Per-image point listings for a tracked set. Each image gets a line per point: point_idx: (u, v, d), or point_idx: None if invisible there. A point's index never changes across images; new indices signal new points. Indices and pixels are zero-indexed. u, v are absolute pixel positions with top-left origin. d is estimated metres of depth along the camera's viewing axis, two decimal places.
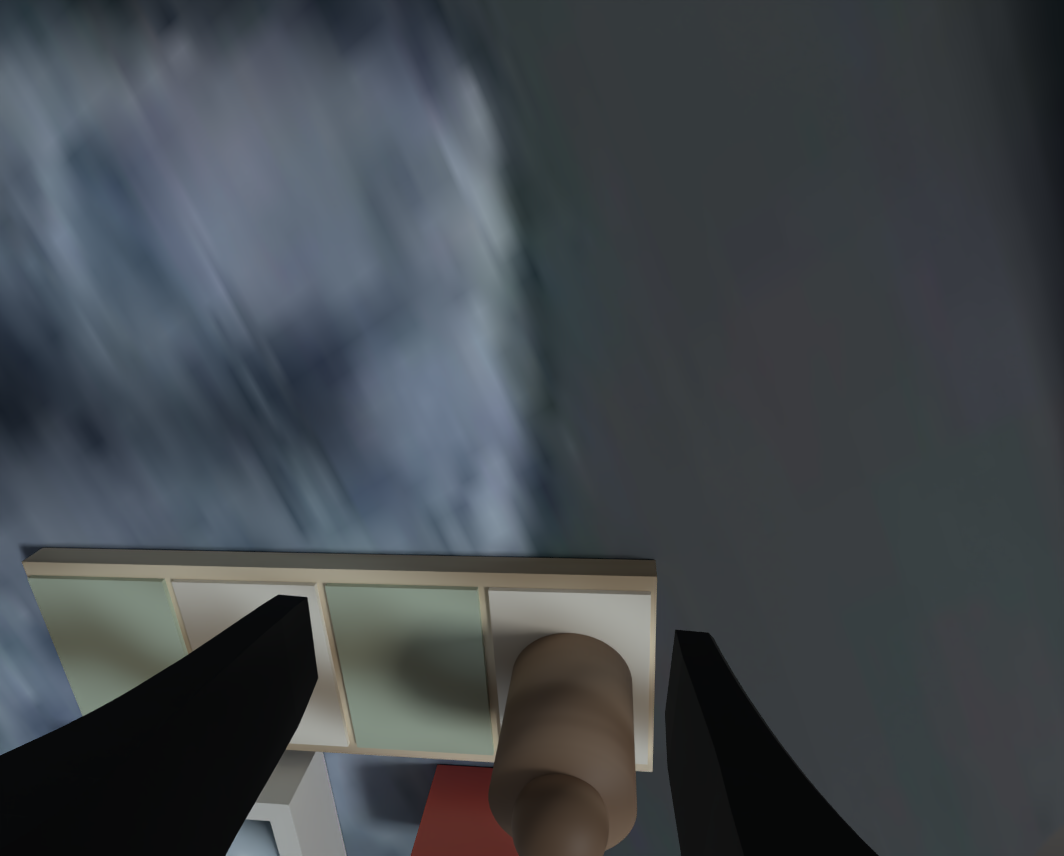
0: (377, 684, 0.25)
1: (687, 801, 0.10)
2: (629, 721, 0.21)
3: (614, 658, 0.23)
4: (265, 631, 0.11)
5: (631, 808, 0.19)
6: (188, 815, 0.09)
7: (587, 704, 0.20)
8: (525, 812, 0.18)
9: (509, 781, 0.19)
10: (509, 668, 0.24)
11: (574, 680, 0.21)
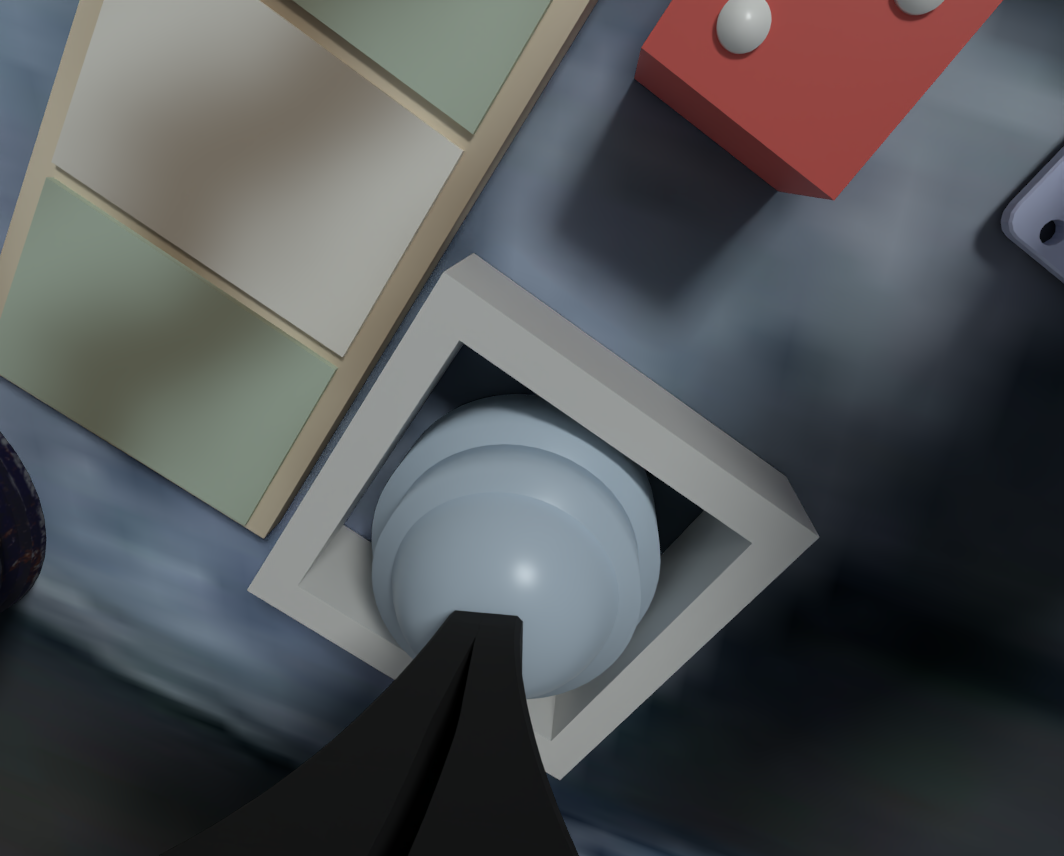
0: None
1: None
2: None
3: None
4: (466, 650, 0.11)
5: None
6: None
7: None
8: None
9: None
10: None
11: None
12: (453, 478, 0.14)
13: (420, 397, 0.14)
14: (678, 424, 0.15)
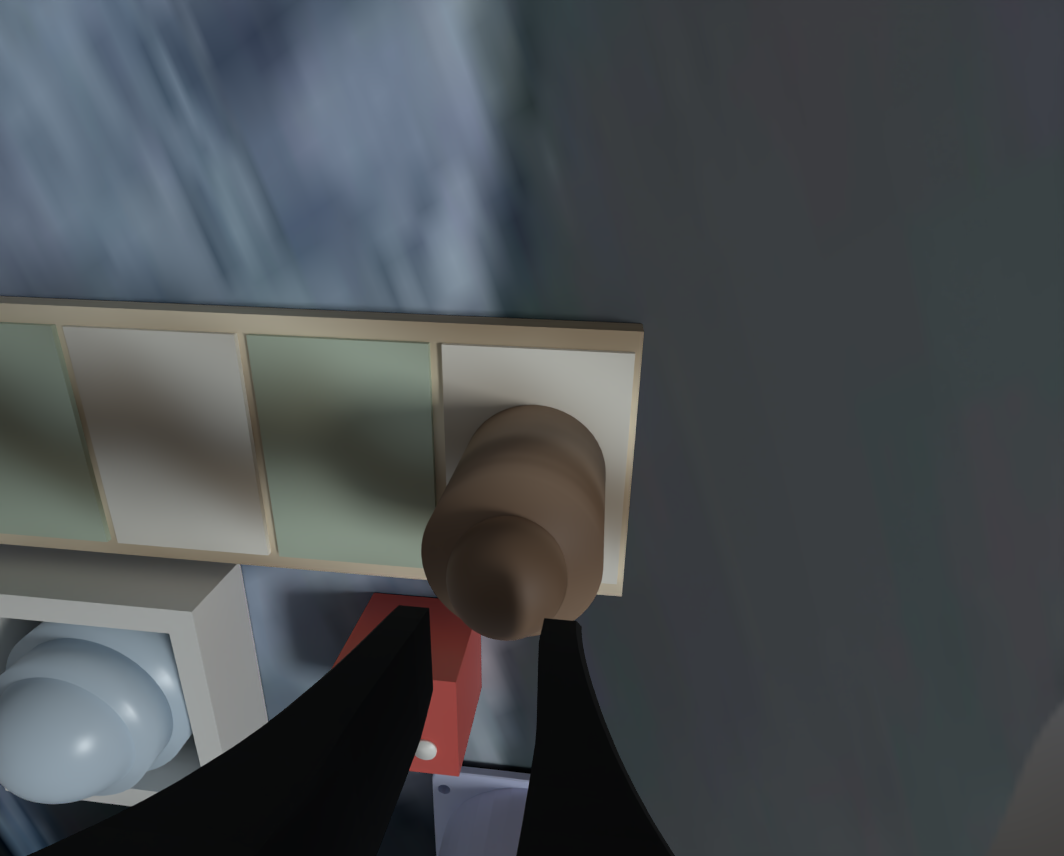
0: (305, 471, 0.21)
1: None
2: (600, 489, 0.17)
3: (586, 434, 0.19)
4: (402, 644, 0.11)
5: (596, 566, 0.15)
6: (348, 835, 0.09)
7: (550, 453, 0.16)
8: (464, 548, 0.14)
9: (448, 526, 0.15)
10: (461, 452, 0.20)
11: (538, 435, 0.17)
12: (96, 685, 0.22)
13: (125, 627, 0.22)
14: (234, 726, 0.25)
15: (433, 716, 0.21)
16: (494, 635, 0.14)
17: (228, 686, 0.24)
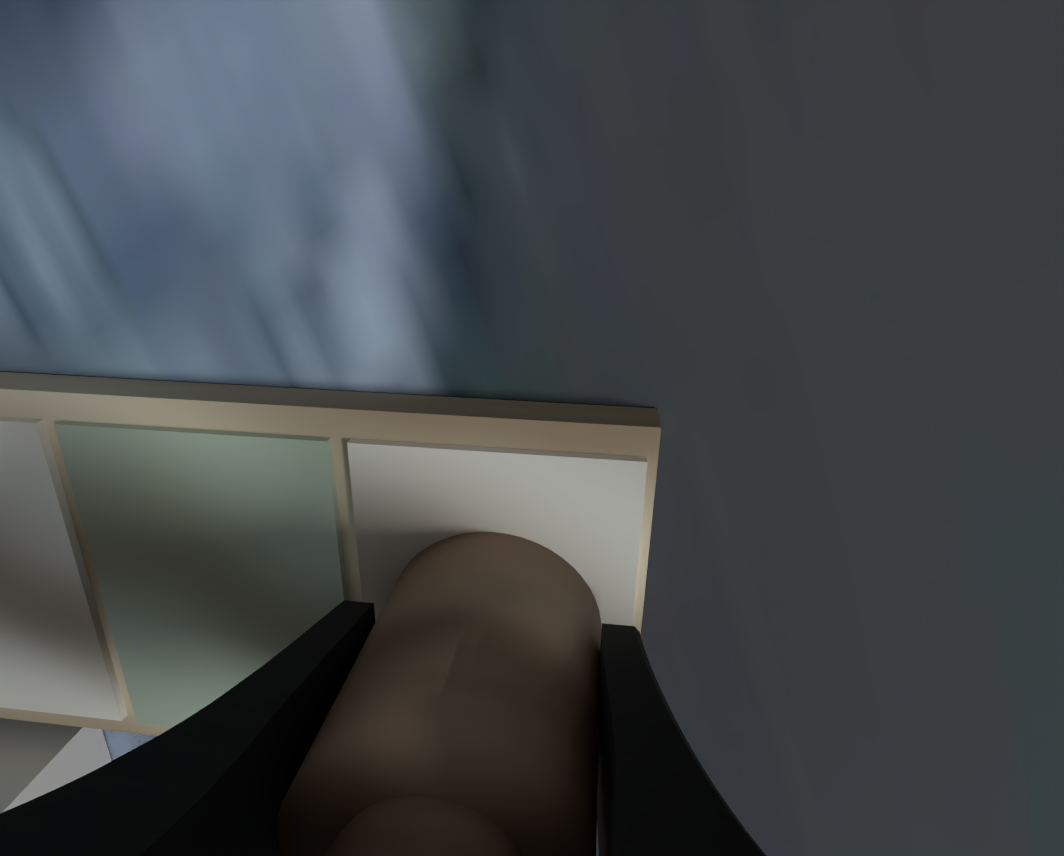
0: (161, 614, 0.14)
1: (602, 791, 0.10)
2: (591, 694, 0.11)
3: (571, 581, 0.12)
4: (340, 638, 0.11)
5: None
6: (275, 826, 0.09)
7: (507, 652, 0.10)
8: None
9: (320, 806, 0.09)
10: (386, 595, 0.14)
11: (489, 607, 0.11)
12: None
13: None
14: None
15: None
16: None
17: None
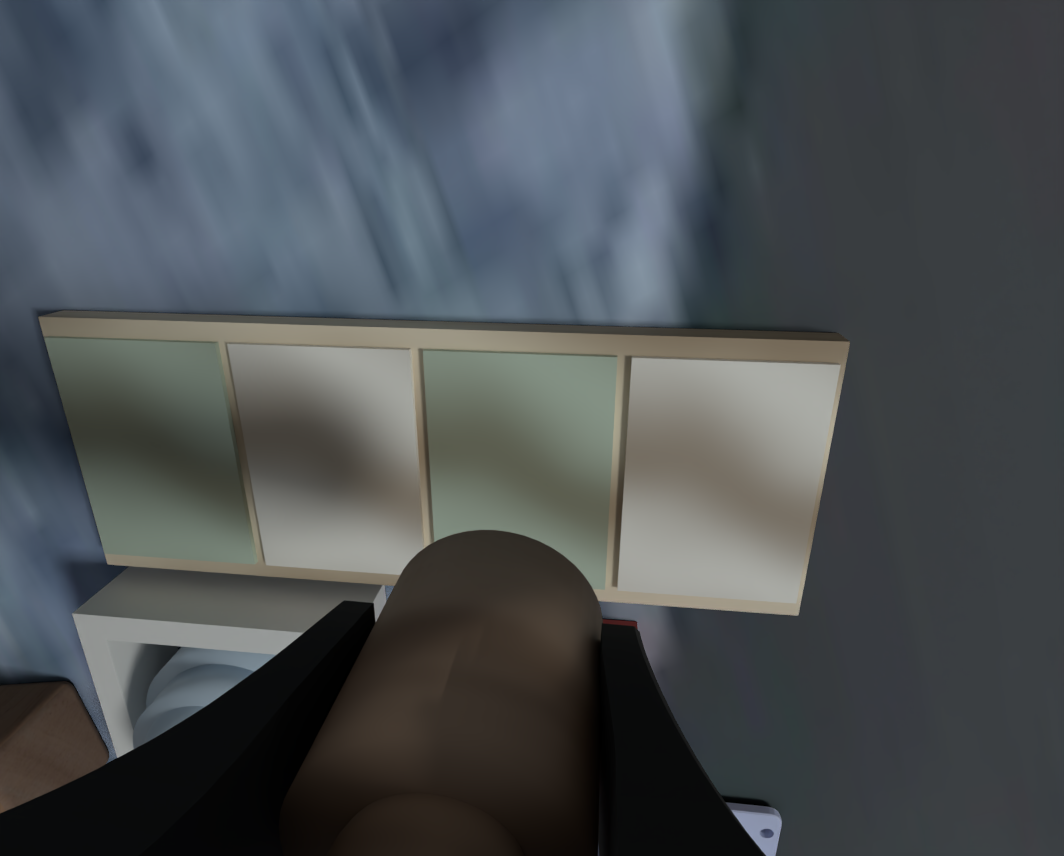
0: (472, 490, 0.20)
1: (602, 791, 0.10)
2: (593, 692, 0.11)
3: (572, 578, 0.12)
4: (340, 638, 0.11)
5: None
6: (275, 826, 0.09)
7: (509, 649, 0.10)
8: None
9: (321, 803, 0.09)
10: (642, 469, 0.19)
11: (491, 605, 0.10)
12: None
13: None
14: None
15: None
16: None
17: None
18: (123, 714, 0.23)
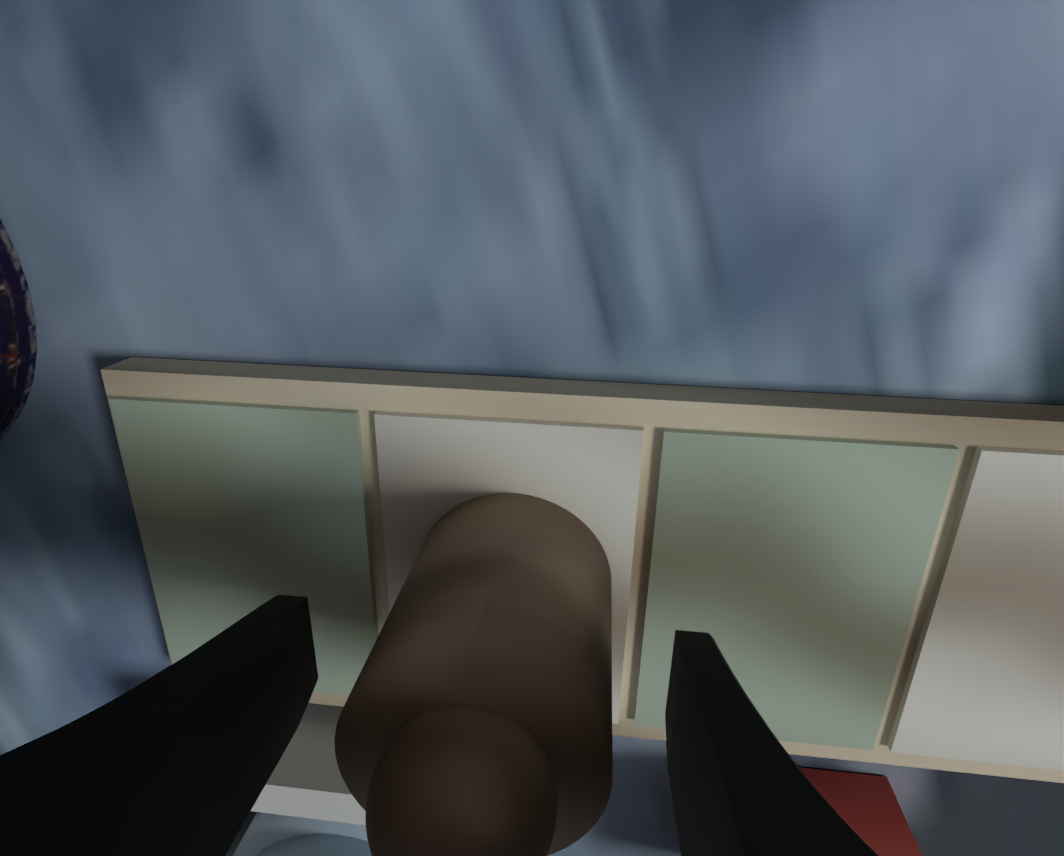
0: (705, 619, 0.15)
1: (687, 801, 0.10)
2: (605, 631, 0.12)
3: (585, 536, 0.14)
4: (265, 631, 0.11)
5: (602, 779, 0.10)
6: (188, 815, 0.09)
7: (533, 589, 0.11)
8: (390, 774, 0.09)
9: (373, 717, 0.10)
10: (962, 600, 0.14)
11: (514, 554, 0.12)
12: None
13: None
14: None
15: None
16: None
17: None
18: None
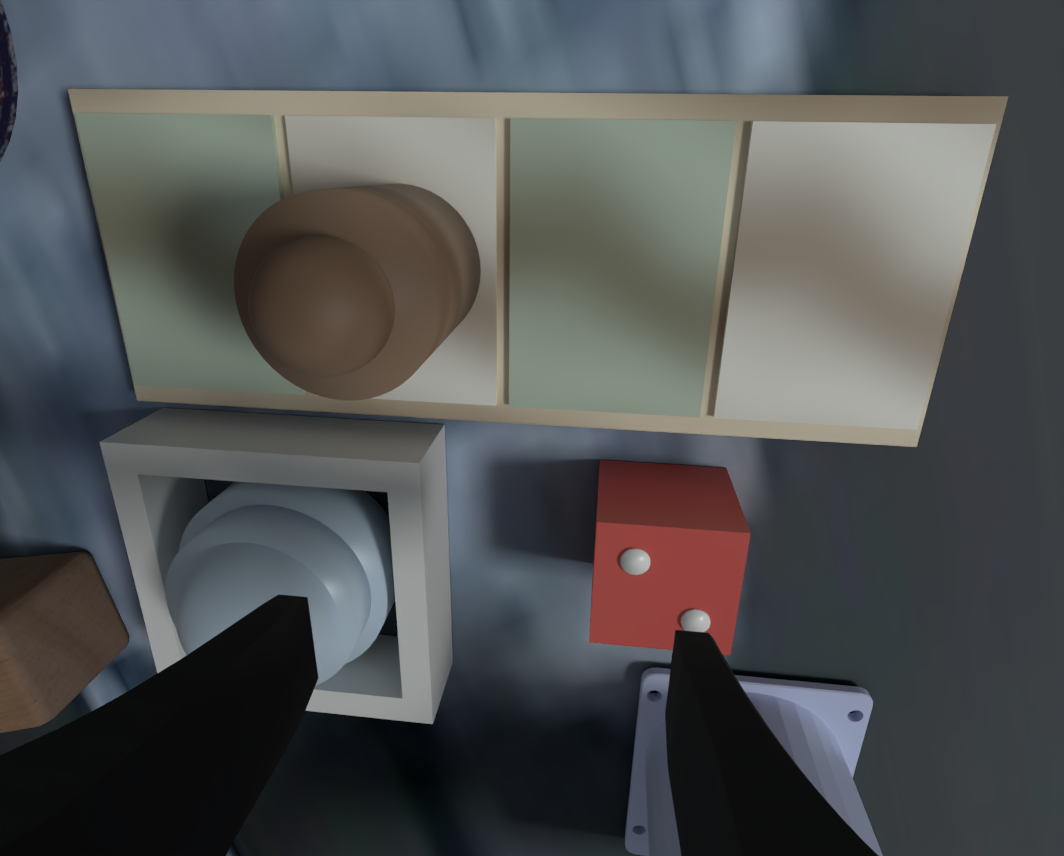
0: (556, 296, 0.18)
1: (687, 801, 0.10)
2: (455, 251, 0.15)
3: (453, 212, 0.17)
4: (264, 631, 0.11)
5: (431, 304, 0.13)
6: (188, 815, 0.09)
7: (391, 194, 0.15)
8: (264, 258, 0.12)
9: (261, 257, 0.13)
10: (754, 264, 0.17)
11: (384, 187, 0.15)
12: (305, 550, 0.19)
13: (334, 486, 0.19)
14: (435, 615, 0.22)
15: (714, 578, 0.18)
16: (296, 356, 0.12)
17: (434, 566, 0.21)
18: (153, 566, 0.21)
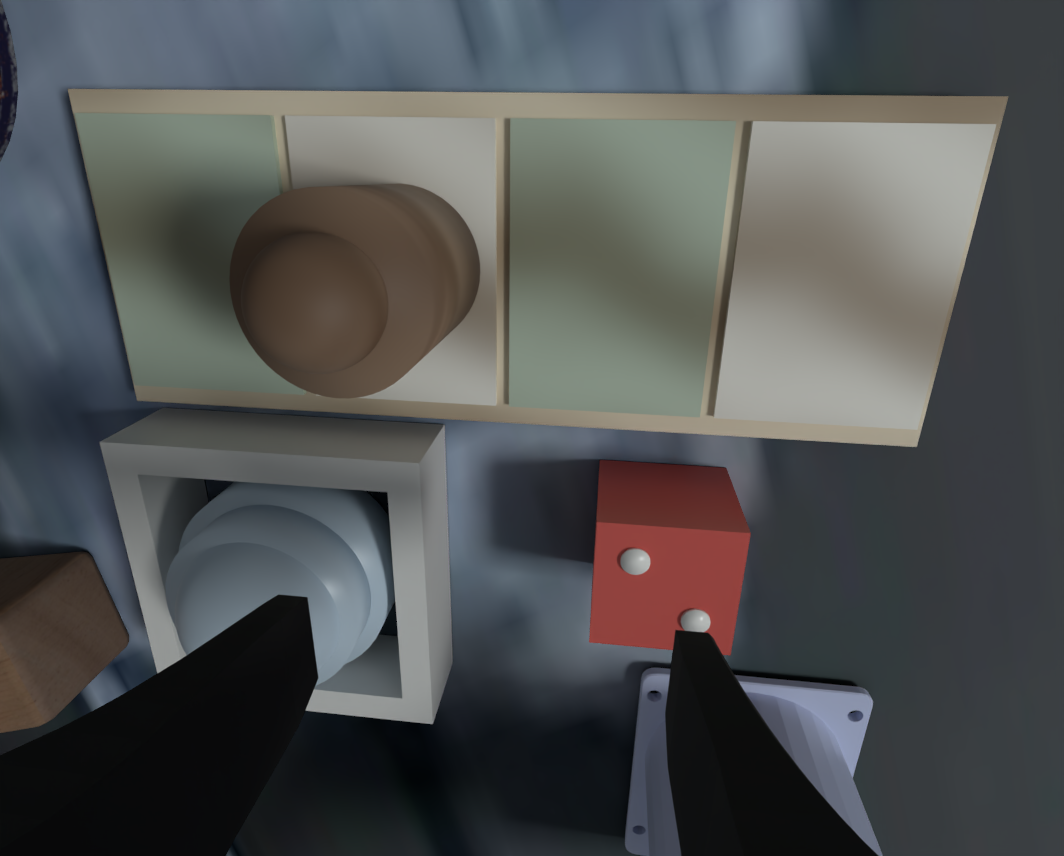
0: (556, 296, 0.18)
1: (687, 801, 0.10)
2: (452, 251, 0.15)
3: (453, 213, 0.17)
4: (264, 631, 0.11)
5: (424, 302, 0.13)
6: (188, 815, 0.09)
7: (388, 193, 0.15)
8: (258, 254, 0.12)
9: (256, 253, 0.13)
10: (754, 264, 0.17)
11: (383, 186, 0.15)
12: (305, 550, 0.19)
13: (334, 486, 0.19)
14: (435, 615, 0.22)
15: (714, 578, 0.18)
16: (287, 352, 0.12)
17: (434, 566, 0.21)
18: (153, 566, 0.21)
